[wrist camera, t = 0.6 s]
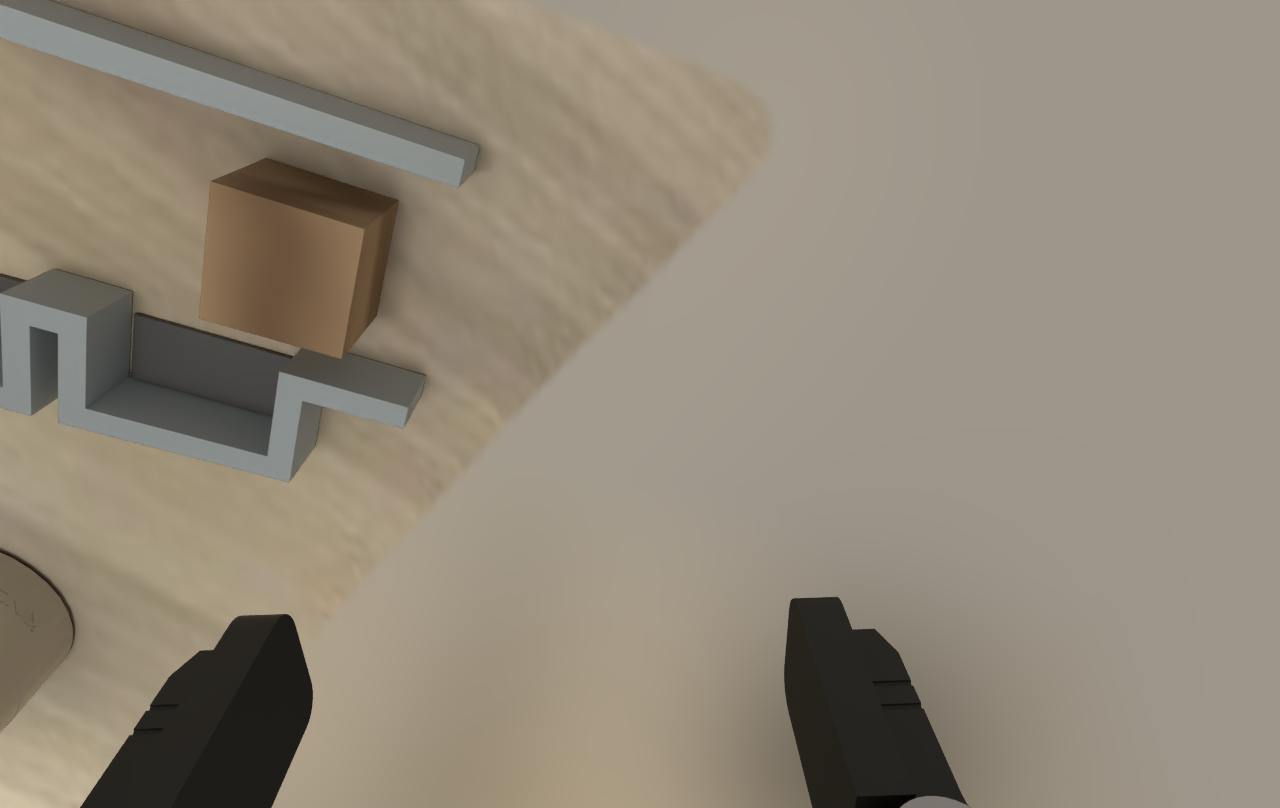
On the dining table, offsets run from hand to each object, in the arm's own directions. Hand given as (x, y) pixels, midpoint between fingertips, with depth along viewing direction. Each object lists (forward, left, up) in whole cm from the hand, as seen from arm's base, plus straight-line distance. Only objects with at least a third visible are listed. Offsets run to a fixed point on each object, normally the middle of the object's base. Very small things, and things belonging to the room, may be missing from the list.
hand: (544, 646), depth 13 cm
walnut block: (-8, +7, -21) cm, 24 cm away
